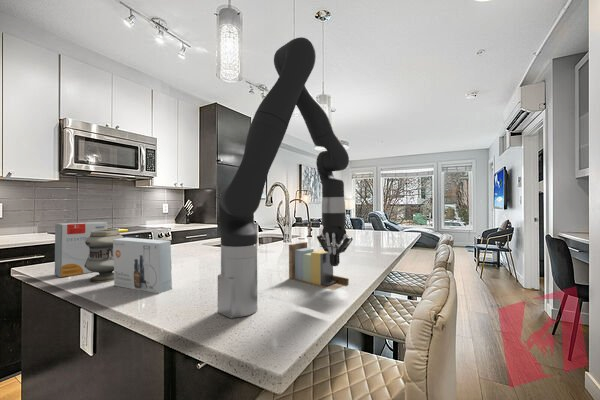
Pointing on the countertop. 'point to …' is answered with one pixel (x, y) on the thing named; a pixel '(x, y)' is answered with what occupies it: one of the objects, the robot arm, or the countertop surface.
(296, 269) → the book slate
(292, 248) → the book trough
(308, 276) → the book sage
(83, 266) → the hard drive box
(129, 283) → the skincare box
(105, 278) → the apothecary jar
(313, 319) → the countertop surface
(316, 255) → the book ochre
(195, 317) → the countertop surface
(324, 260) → the bookend
